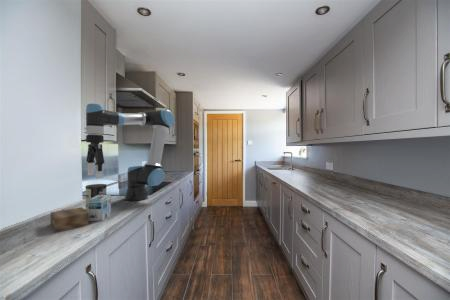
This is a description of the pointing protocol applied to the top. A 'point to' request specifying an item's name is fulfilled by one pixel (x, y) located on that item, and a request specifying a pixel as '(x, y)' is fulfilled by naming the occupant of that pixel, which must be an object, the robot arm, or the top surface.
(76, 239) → the top surface
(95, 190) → the coffee can
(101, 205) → the light bulb box
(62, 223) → the block
